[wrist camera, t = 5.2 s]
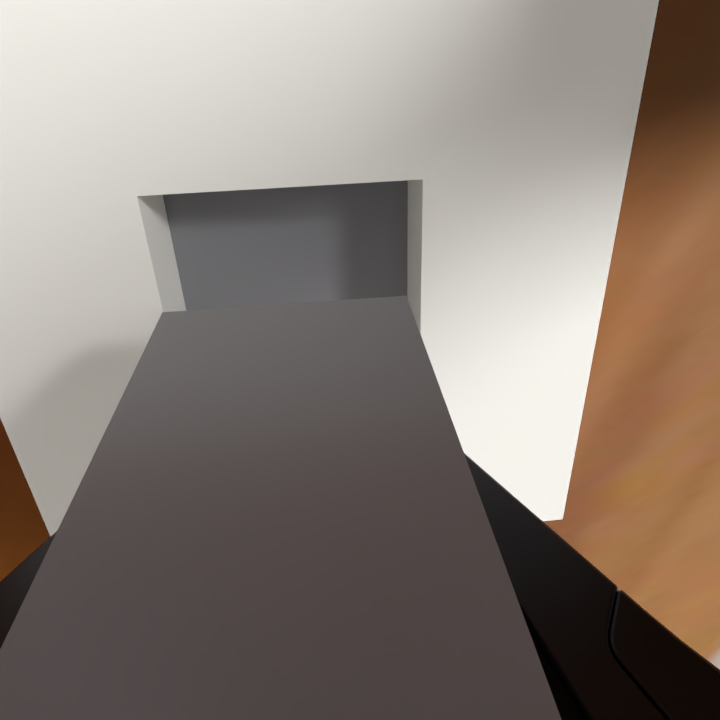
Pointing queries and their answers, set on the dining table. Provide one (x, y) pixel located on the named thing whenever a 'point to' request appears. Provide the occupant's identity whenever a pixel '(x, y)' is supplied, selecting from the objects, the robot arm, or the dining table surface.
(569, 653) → the robot arm
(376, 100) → the outlet plate
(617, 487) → the dining table surface
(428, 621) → the grey square peg
